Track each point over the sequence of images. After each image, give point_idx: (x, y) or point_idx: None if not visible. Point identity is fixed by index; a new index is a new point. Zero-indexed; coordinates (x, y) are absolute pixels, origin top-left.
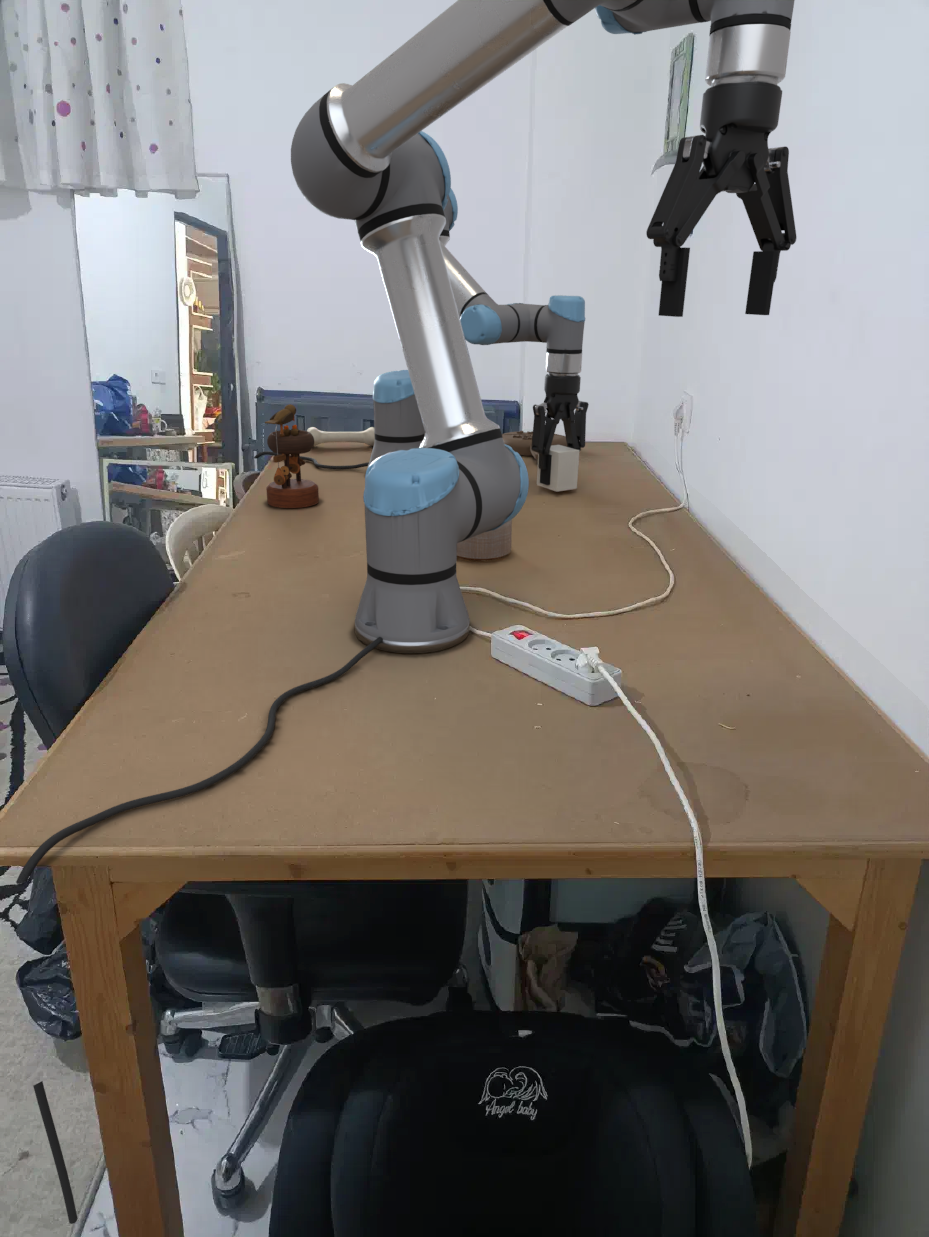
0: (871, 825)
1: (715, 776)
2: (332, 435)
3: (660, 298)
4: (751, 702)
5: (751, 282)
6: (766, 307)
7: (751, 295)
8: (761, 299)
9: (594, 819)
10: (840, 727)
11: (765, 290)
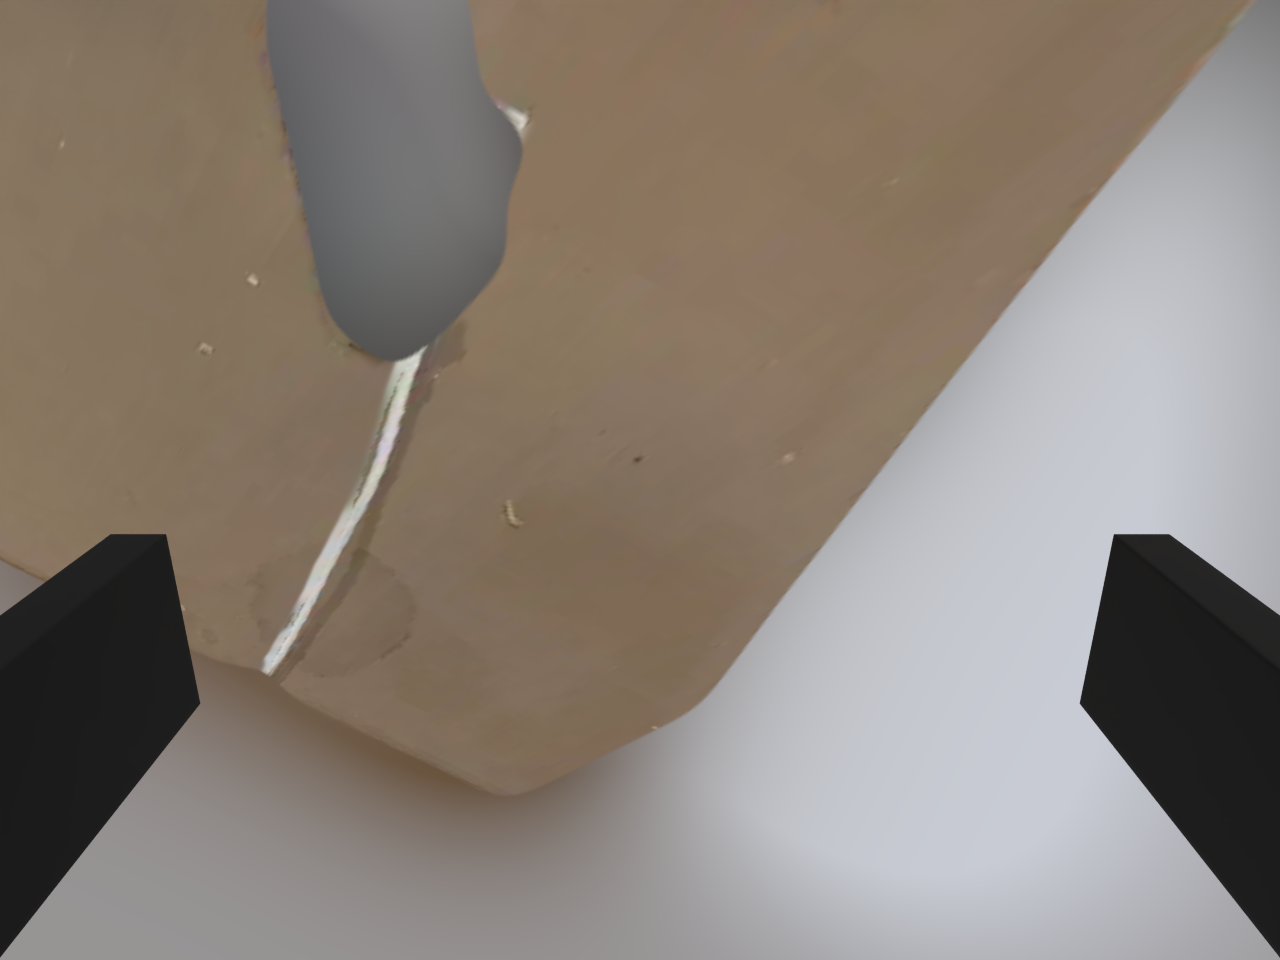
0: (484, 762)
1: (384, 601)
2: None
3: (35, 593)
4: (620, 480)
5: (1273, 692)
6: (1112, 739)
7: (1189, 645)
8: (1145, 730)
9: None
10: (676, 608)
11: (1184, 803)
